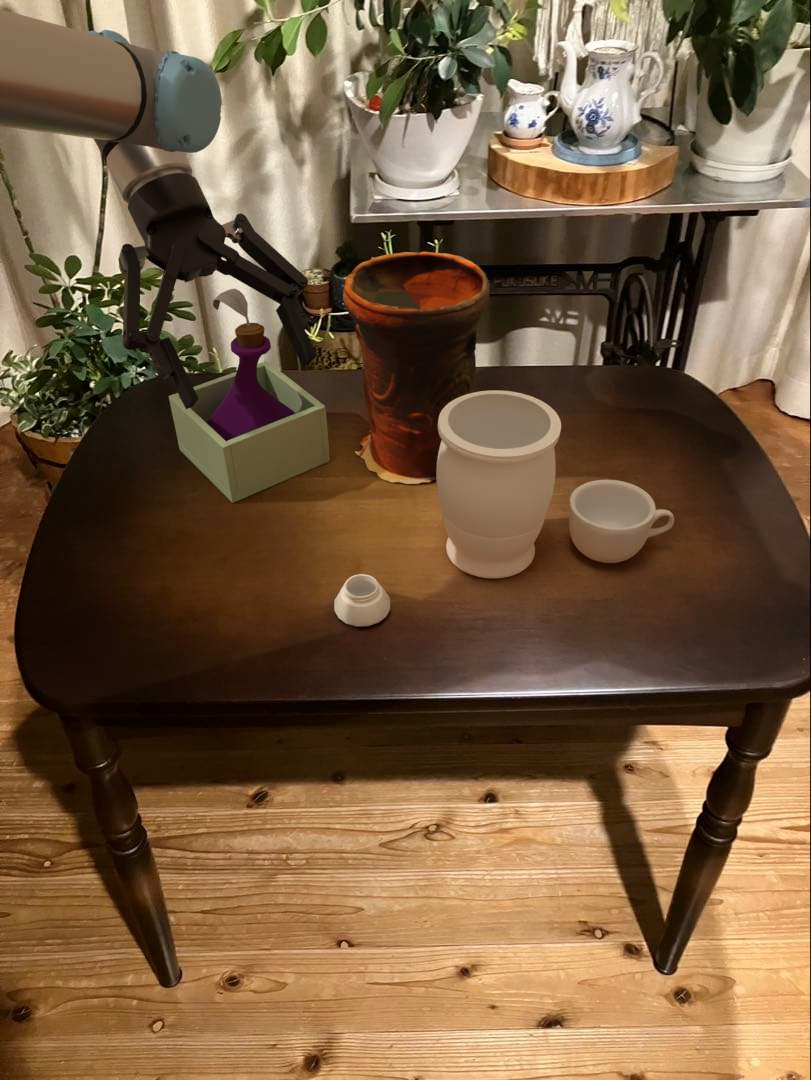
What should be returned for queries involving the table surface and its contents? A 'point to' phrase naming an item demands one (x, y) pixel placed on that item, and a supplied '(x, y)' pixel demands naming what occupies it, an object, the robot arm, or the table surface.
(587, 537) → the teacup
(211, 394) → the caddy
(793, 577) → the table surface
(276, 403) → the perfume bottle
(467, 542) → the jar
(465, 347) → the vessel
